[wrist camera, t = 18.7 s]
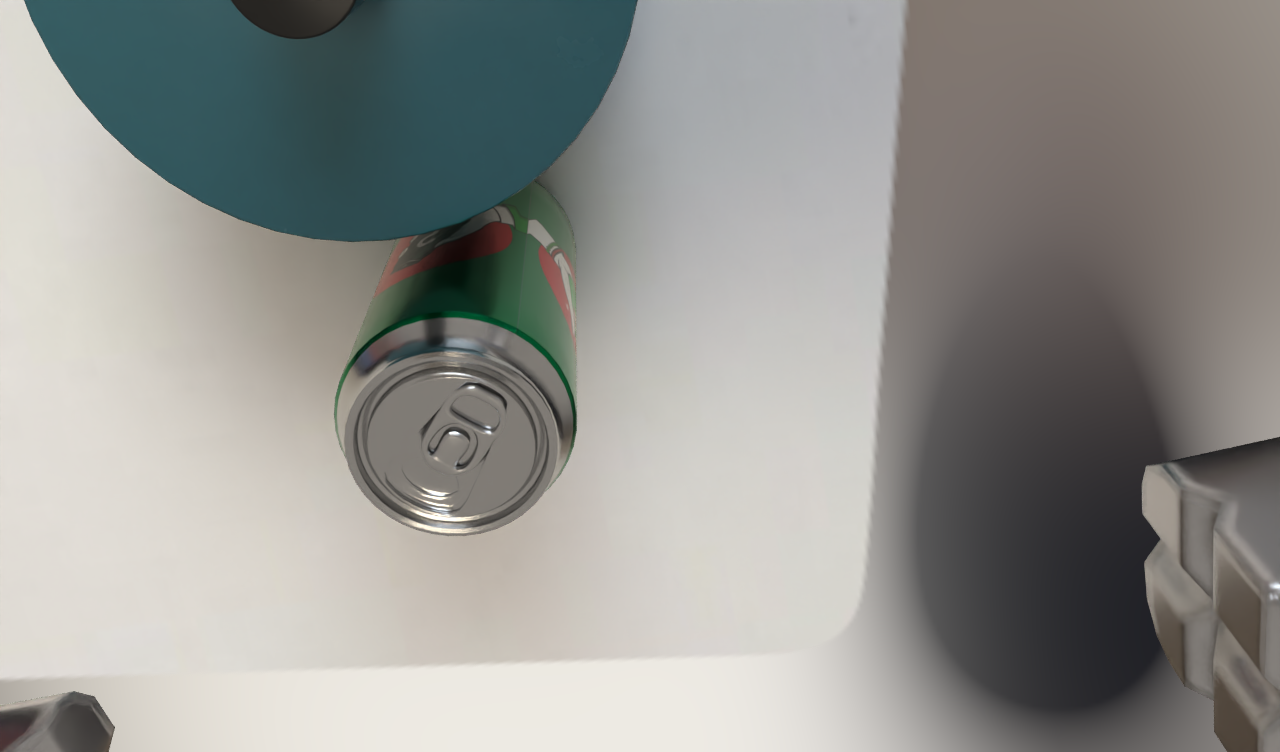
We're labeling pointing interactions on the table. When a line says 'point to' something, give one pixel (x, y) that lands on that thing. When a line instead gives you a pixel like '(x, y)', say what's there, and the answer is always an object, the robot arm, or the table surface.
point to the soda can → (466, 371)
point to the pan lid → (341, 100)
